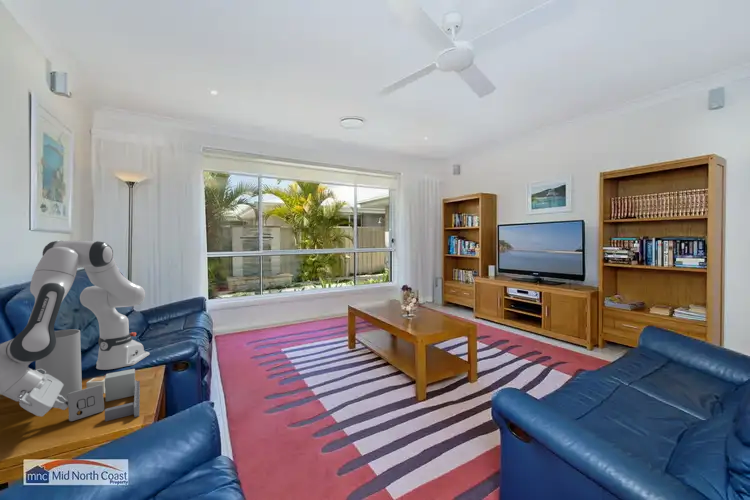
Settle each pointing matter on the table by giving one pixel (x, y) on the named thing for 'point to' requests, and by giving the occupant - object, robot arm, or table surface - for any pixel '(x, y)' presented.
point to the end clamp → (119, 411)
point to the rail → (137, 399)
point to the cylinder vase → (65, 361)
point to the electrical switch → (85, 402)
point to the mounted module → (119, 384)
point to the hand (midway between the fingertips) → (67, 406)
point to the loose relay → (96, 383)
